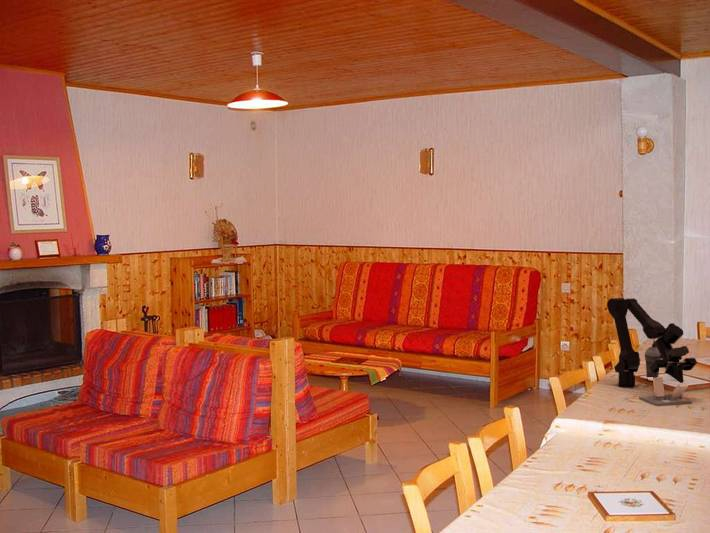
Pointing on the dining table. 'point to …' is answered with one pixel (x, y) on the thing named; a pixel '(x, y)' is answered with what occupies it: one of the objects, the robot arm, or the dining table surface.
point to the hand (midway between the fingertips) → (682, 382)
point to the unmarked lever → (658, 387)
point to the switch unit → (665, 400)
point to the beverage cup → (651, 360)
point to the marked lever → (679, 390)
